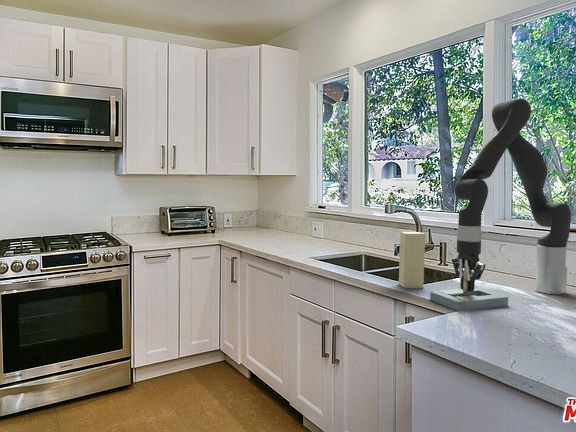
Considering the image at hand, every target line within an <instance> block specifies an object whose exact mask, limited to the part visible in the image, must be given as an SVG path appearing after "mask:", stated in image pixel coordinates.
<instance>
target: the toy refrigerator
mask: <svg viewBox="0 0 576 432" xmlns="http://www.w3.org/2000/svg"><path fill="white" fill-rule="evenodd" d="M425 248H426V233H424V232H421V231H418V232H417V231H400V232H399V260H398V261H399V263H398V264H399V268H398V269H399V270H398V272H399V273H398V285H399V286H400V287H402V288H403V289H404V288H405V289H410V288H411V289H414V288H415V289H424V282H425V281H424V279H425V278H424V277H425V251H426V249H425Z"/></svg>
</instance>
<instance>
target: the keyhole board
mask: <svg viewBox="0 0 576 432" xmlns="http://www.w3.org/2000/svg"><path fill="white" fill-rule="evenodd" d="M429 292H430V293H429V294H430V295H429V300H430V301H432V302H435V303H437V304H439V305H442V306H445V307H446V308H450V309H452V310H454V311H456V312H461V311H462V312H463V311H473V310H479V309H482V310H483V309H489V308H499V307H500V308H501V307H508V306H509V296H507V295H506V296H505V295H503V294H500V293H497V292H493V291H490V290H486V289H484V288H480V287H474V291H473V292H471V296H463V290H462V289H461V288H456V289H446V290H445V289H444V290H441V289H440V290H434V291H433V290H432V291H429Z"/></svg>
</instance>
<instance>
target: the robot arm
mask: <svg viewBox="0 0 576 432" xmlns="http://www.w3.org/2000/svg"><path fill="white" fill-rule="evenodd" d="M490 116H491V120H492V123H493V125H494V127H495V129H496V131H497V133H496V134H494V136H493V137H492V138H491V139H490V140H489V141H488V142H487V143H485V144H484V145H483V146H482V147H481V148H480V150H479V151H478V153H477V155H476V156H475V158H474V160H473V162H472V164H471V165H470V167H469V168H468V169H467V170H465V172H464V173H463V174H462V175H461V176H460V177H459V179H458V180H457V181H456V183H455V186H454V194H455V196H456V198H458V199H459V200H462V201H468V204H467V206H466V207H465V206H464V207H461V208H460V209H459V211H458V223H457V225H458V227H457V231H456V253H458V254H457V257H456V258H452V259H451V262H452V266H453V269H454V272H455V275H456V276H459V279H460V282H459V283H460V284H459V286H460V289H462V290H463V280H464V264H465V265H466V273H467V278H468V280H467V291H468V292H473V291H474V288H475V286H476V285H475V283H476V281H477V280H480V279H481V278H482V275H483V273H484V271H485V269H486V267H487V266H486V264H484V263H481V262H480V258H479V256H480V255H481V252H482V237H483V236H482V233H483V232H482V213H483V211H484V208H485V205H486V201H487V199H488V195H489V188H488V184H487V182H486V181H485V180H486V179H489V178H490V177H491V176H492V174H493V173H494V172H495V170H496V168H497V166H498V164H499V163H500V160H501V158H502V157H503V155H504V153H505V152H506V150H507V152H508V154H509V156H510V158H511V160H512V163H513V165H514V168H515V171H516V172H517V175H518V177H519V180H520V182H521V184H522V187H523V190H524V191H525V192H524V193H525V195H526V197H527V200H528V203H529V208H530V211H531V214H532V217H533V219H534V221H535V223H536V225H538V226H540V227H543V228H544V227H545V228H550V230H549V233H547V234H545V235H543V236H539V237H538V238H537V247H536V270H535V271H536V272H535V288H534V289H535V291H536V292H539V293H542V294H546V295H564V294H565V293H567V278H568V277H567V274H568V267H567V266H566V261H567V244H568V241H569V239H570V230H571V221H572V211H571V208H570V206H569V204H567V203H564V202H552V201H551V202H550V201H548V200H547V197H546V194H545V192H544V186H545V183H546V181H547V176H548V167H547V164H546V162H545V159H544V157H543V155H542V153H541V151H539V150H538V148H537V147H535V146H534V145H533V144H532V143H531V142H529V141H528V140H527V139H526V138H525V137H524V136H523V135H522V134H521V131H522V130H523V128H524V127H525V126H526V125H527V123H528V122H529V120H530V118H531V116H532V106H531V105H530V102H529V101H528V100H527V99H525V98H515V99H514V98H513V99H510V100H504V101H501V102H497V103H496V104H495V105H493V107H492V109H491V114H490ZM470 270H472V271H470Z"/></svg>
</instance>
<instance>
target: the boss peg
mask: <svg viewBox="0 0 576 432" xmlns="http://www.w3.org/2000/svg"><path fill="white" fill-rule="evenodd" d="M470 271H472V270H470ZM467 280H468V278H467V273H466V265H465V264H464V280H463V296H471V292H468V291H467Z"/></svg>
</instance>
